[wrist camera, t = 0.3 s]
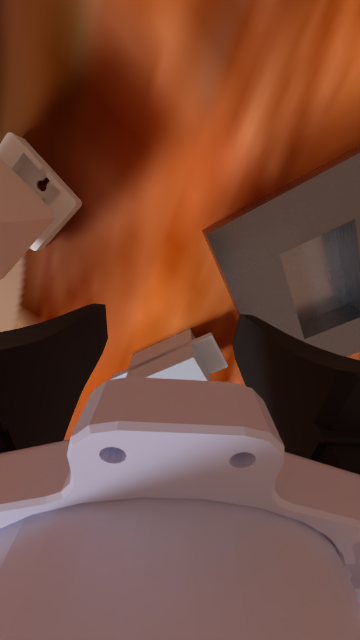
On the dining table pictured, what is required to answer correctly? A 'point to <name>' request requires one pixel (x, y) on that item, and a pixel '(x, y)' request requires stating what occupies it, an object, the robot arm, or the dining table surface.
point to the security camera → (29, 202)
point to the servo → (177, 359)
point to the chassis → (299, 256)
